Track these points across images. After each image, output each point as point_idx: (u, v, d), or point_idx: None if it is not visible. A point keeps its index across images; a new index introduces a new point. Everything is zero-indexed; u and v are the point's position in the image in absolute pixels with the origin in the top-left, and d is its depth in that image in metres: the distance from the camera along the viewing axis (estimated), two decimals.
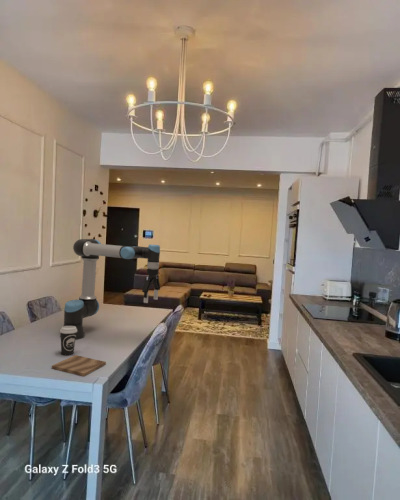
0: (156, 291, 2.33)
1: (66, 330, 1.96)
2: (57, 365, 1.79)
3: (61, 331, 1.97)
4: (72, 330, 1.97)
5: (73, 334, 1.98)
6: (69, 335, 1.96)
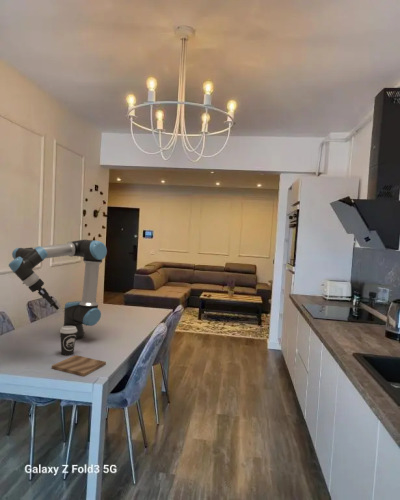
0: None
1: (66, 330, 1.96)
2: (57, 365, 1.79)
3: (61, 331, 1.97)
4: (72, 330, 1.97)
5: (73, 334, 1.98)
6: (69, 335, 1.96)
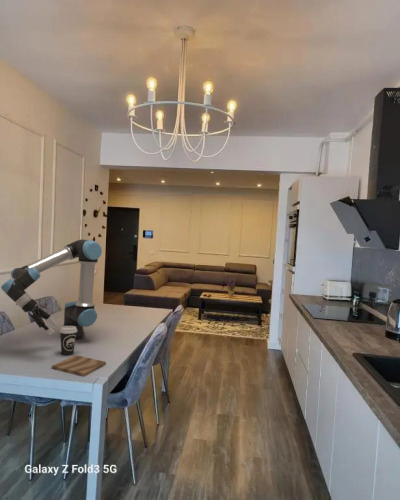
0: None
1: (66, 330, 1.96)
2: (57, 365, 1.79)
3: (61, 331, 1.97)
4: (72, 330, 1.97)
5: (73, 334, 1.98)
6: (69, 335, 1.96)
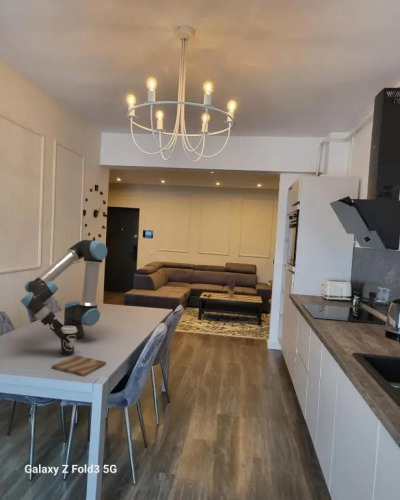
0: None
1: (66, 330, 1.96)
2: (57, 365, 1.79)
3: None
4: (72, 330, 1.97)
5: (73, 334, 1.98)
6: (69, 335, 1.96)
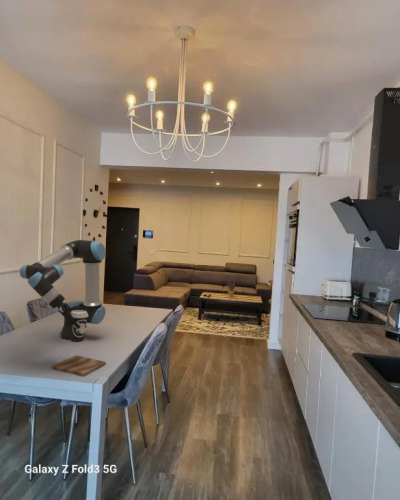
0: None
1: (76, 314, 1.79)
2: (57, 365, 1.79)
3: None
4: (83, 314, 1.80)
5: (84, 319, 1.81)
6: (79, 320, 1.79)
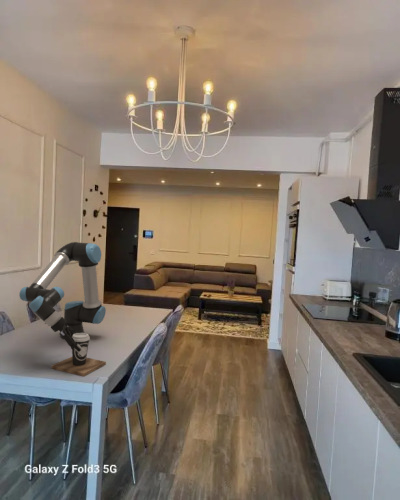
0: None
1: (78, 338, 1.79)
2: (57, 365, 1.79)
3: None
4: (84, 338, 1.80)
5: (85, 342, 1.81)
6: (81, 343, 1.79)
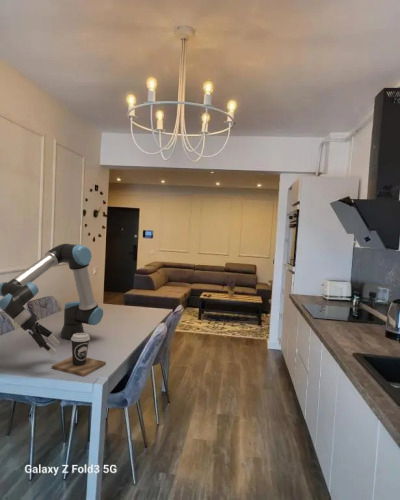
0: None
1: (78, 338, 1.79)
2: (57, 365, 1.79)
3: (72, 339, 1.80)
4: (84, 338, 1.80)
5: (85, 342, 1.81)
6: (81, 343, 1.79)
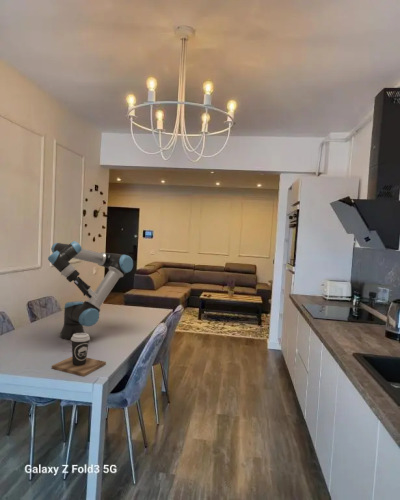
0: None
1: (78, 338, 1.79)
2: (57, 365, 1.79)
3: (72, 339, 1.80)
4: (84, 338, 1.80)
5: (85, 342, 1.81)
6: (81, 343, 1.79)
